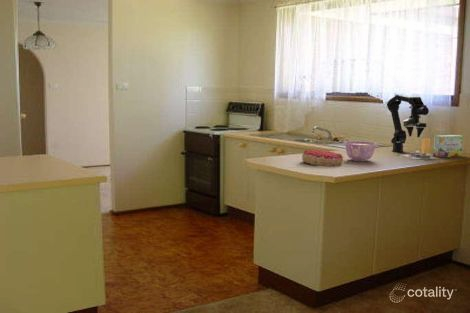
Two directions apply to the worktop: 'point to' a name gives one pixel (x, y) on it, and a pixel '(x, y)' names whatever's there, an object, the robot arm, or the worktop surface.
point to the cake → (322, 157)
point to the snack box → (447, 145)
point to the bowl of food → (360, 150)
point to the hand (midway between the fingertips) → (414, 136)
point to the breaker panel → (419, 156)
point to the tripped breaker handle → (425, 146)
